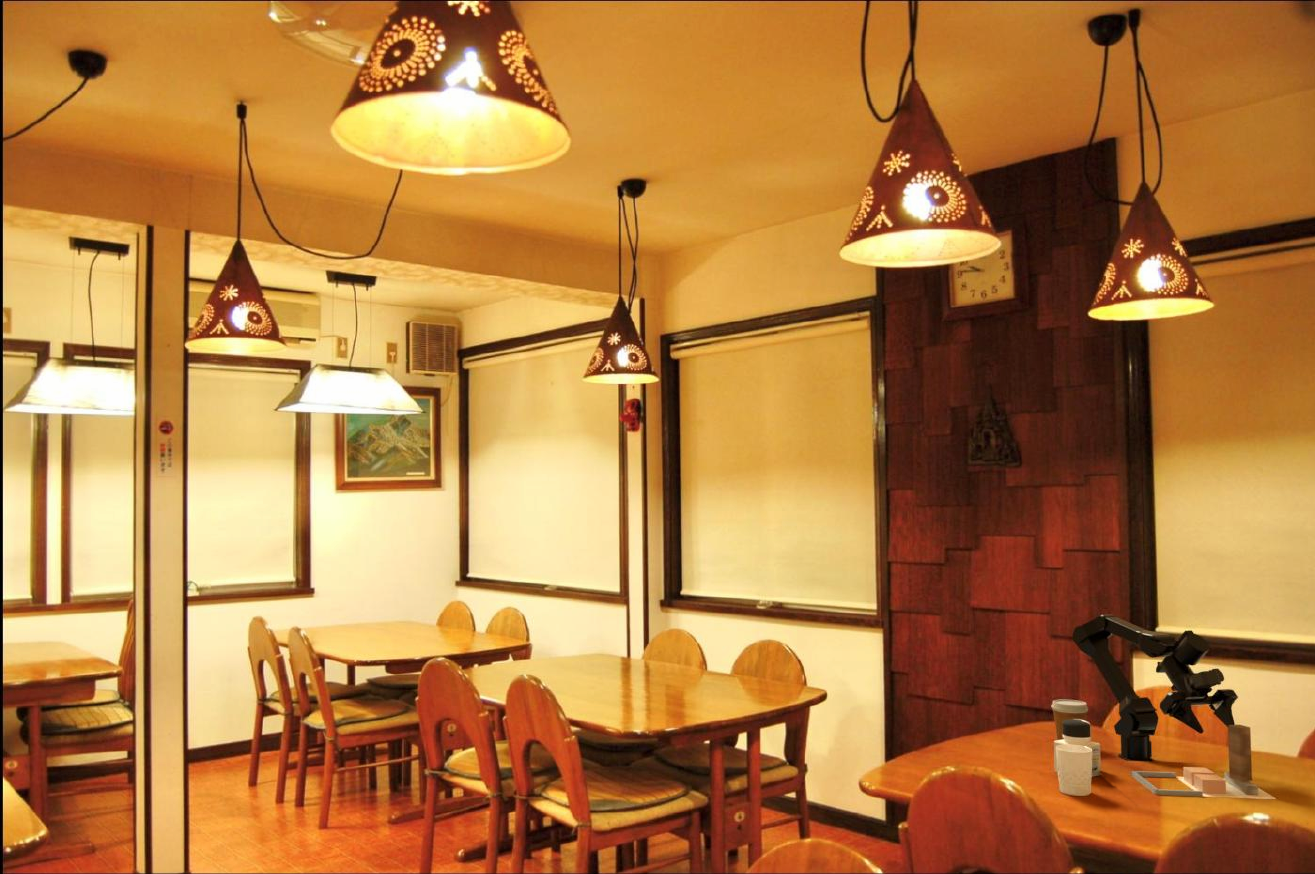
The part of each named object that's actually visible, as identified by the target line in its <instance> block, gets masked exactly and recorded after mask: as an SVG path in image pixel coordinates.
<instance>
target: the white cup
mask: <svg viewBox="0 0 1315 874" xmlns="http://www.w3.org/2000/svg"><path fill="white" fill-rule="evenodd" d="M1056 757H1057V772H1058V773H1057V772H1056V773H1057V779H1058V784H1059V785H1058V787H1059V792H1060V793H1062V794H1064V795H1068V796H1074V797H1087V796H1089V795H1091V792H1092V788H1091V786H1092V784H1091V783H1092V749H1091V748H1089V747H1085V746H1080V745H1070V744H1064V745H1058V746H1056Z"/></svg>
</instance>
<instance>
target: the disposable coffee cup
mask: <svg viewBox="0 0 1315 874" xmlns="http://www.w3.org/2000/svg"><path fill="white" fill-rule="evenodd" d="M1050 706H1051V708H1052V712H1053V718H1054V725H1055V733H1056V739H1057V740H1063V739H1064V738H1063V734H1062V722H1063V721H1065V720H1067V719H1080V720H1085V721H1087V712H1088V710H1089V707H1088V705H1087V702H1085V701H1082V700H1075V699H1055V700H1052V703H1051V705H1050Z"/></svg>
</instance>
